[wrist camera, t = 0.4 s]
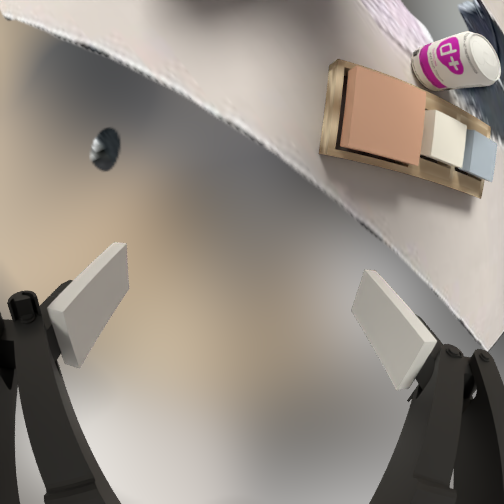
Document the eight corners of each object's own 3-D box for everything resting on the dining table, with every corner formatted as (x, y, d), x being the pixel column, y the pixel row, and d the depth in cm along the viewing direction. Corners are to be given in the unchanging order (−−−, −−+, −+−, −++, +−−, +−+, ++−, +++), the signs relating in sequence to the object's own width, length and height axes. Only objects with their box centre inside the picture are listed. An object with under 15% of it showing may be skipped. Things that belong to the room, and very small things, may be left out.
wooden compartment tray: (329, 65, 33) (338, 58, 29) (476, 126, 35) (490, 127, 31) (318, 153, 38) (326, 155, 34) (467, 193, 40) (481, 198, 37)
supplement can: (410, 85, 33) (471, 73, 19) (407, 42, 30) (462, 20, 16) (445, 96, 34) (505, 93, 20) (442, 56, 30) (498, 43, 17)
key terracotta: (344, 72, 31) (356, 65, 26) (409, 95, 32) (426, 92, 27) (336, 146, 35) (348, 146, 31) (401, 162, 36) (418, 166, 31)
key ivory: (418, 110, 32) (435, 109, 28) (449, 124, 33) (466, 125, 29) (413, 153, 35) (430, 155, 31) (444, 164, 36) (461, 168, 31)
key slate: (457, 128, 33) (474, 129, 29) (480, 141, 34) (497, 143, 30) (452, 167, 36) (469, 171, 32) (475, 177, 36) (492, 182, 32)
